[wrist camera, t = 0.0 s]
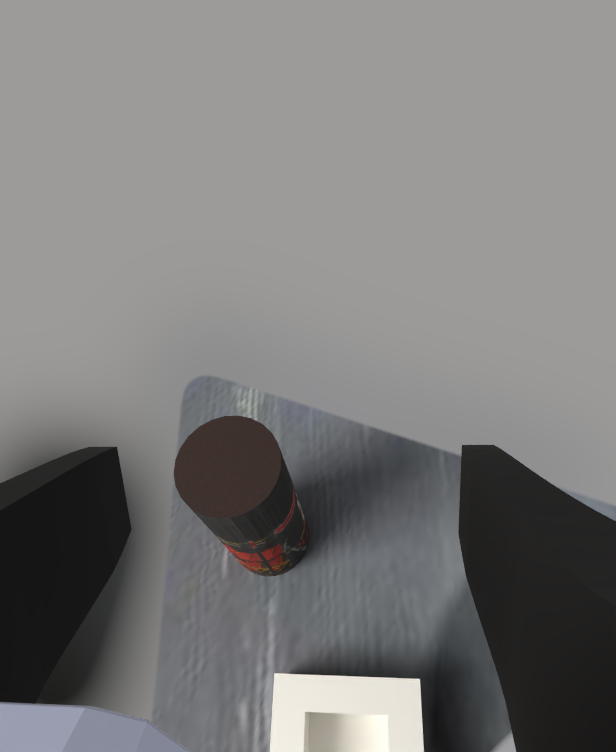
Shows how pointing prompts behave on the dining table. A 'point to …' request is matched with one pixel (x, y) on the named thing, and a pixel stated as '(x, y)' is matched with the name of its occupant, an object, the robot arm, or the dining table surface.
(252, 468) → the deodorant
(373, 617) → the dining table surface
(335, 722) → the block
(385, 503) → the dining table surface
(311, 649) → the dining table surface
